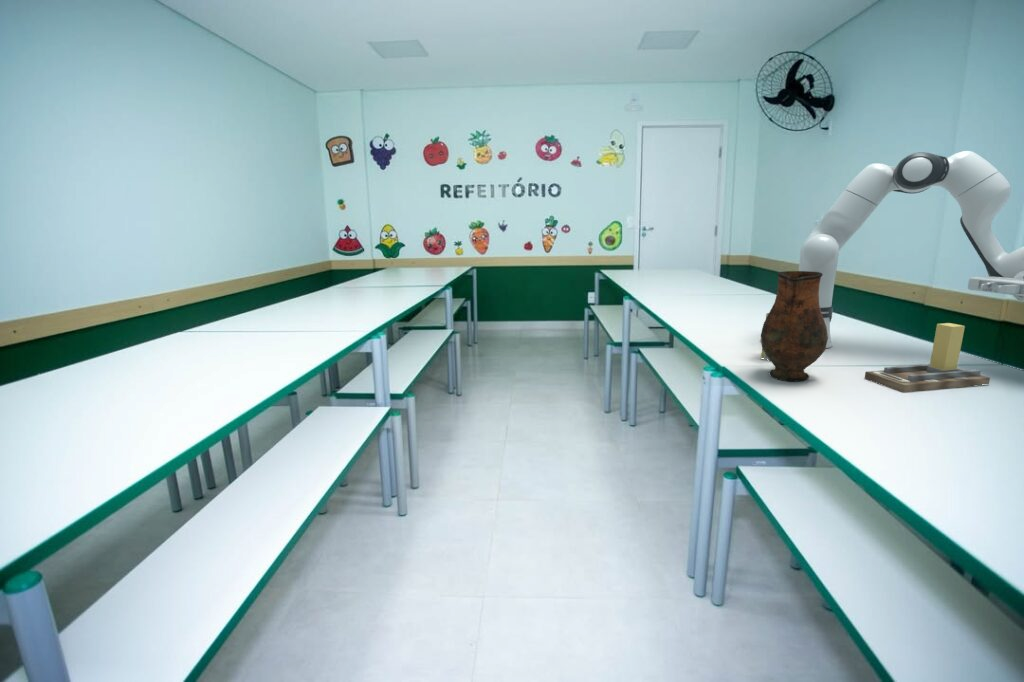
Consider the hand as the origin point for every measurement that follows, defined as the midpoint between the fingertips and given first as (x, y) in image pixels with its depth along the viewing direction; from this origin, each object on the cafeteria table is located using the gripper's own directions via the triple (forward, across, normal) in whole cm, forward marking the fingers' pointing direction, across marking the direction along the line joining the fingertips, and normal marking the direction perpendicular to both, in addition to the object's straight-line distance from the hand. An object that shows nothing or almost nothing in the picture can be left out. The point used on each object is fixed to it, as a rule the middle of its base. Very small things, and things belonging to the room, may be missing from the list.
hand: (989, 288), depth 132 cm
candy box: (+39, -31, +25) cm, 56 cm away
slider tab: (+10, 0, +23) cm, 25 cm away
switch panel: (+15, 0, +25) cm, 29 cm away
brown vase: (+45, -14, +25) cm, 54 cm away
